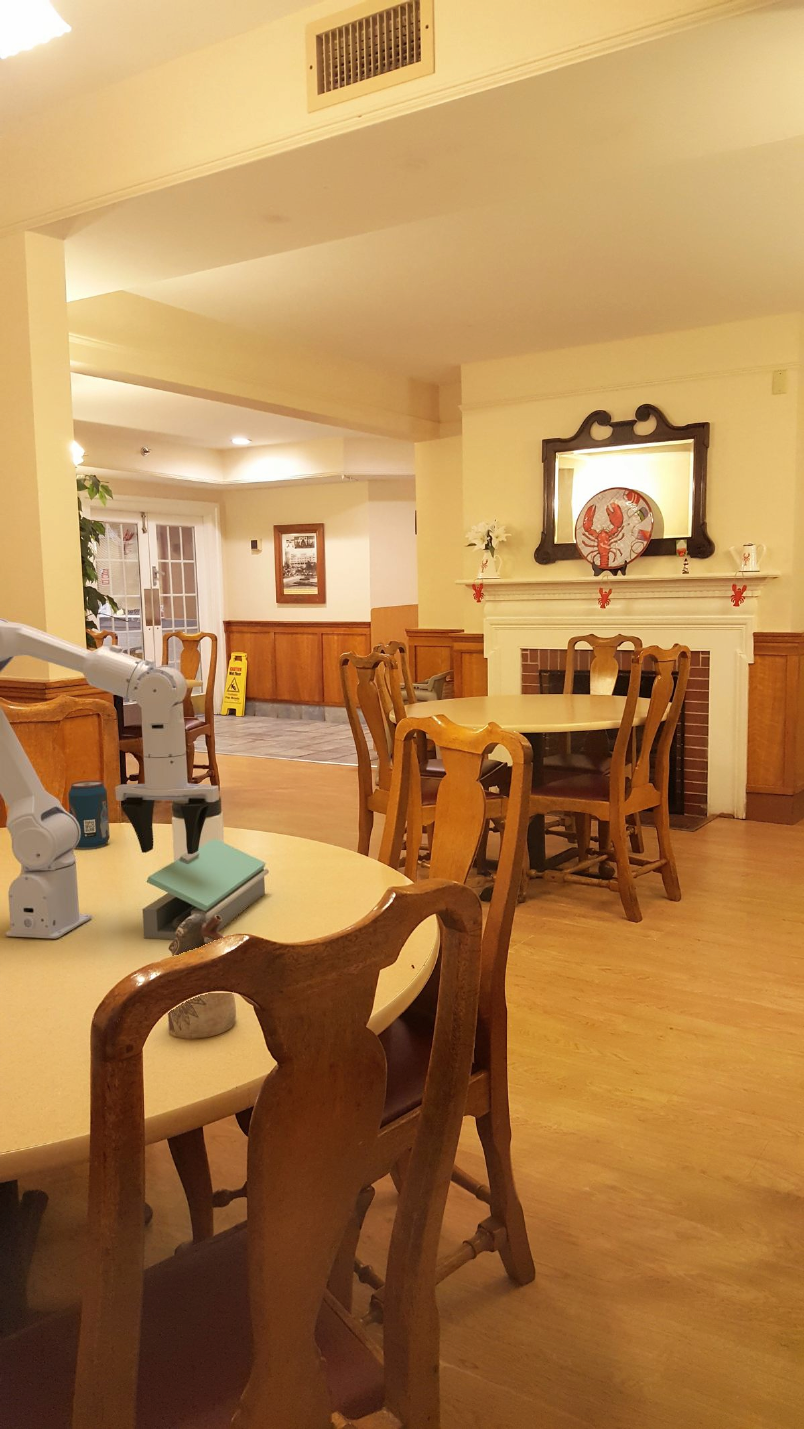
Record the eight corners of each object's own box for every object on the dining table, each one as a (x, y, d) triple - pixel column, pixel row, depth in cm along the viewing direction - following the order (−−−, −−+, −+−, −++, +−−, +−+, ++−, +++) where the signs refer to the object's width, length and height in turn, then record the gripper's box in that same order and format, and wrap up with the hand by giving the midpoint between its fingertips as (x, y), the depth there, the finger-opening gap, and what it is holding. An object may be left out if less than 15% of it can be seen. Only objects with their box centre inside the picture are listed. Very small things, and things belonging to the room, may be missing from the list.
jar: (180, 862, 174) (177, 794, 172) (227, 860, 174) (224, 793, 173) (170, 876, 165) (166, 804, 163) (220, 874, 165) (216, 803, 164)
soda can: (71, 843, 190) (67, 781, 189) (109, 839, 192) (105, 778, 191) (71, 851, 184) (67, 787, 183) (110, 847, 186) (106, 784, 185)
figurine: (188, 1008, 110) (183, 902, 108) (247, 1014, 108) (242, 906, 106) (154, 1035, 103) (148, 923, 102) (217, 1042, 101) (211, 927, 100)
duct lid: (205, 911, 131) (208, 901, 131) (146, 882, 133) (149, 872, 132) (264, 867, 153) (267, 859, 152) (212, 842, 154) (215, 834, 154)
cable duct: (212, 941, 132) (210, 912, 131) (144, 938, 134) (142, 909, 133) (269, 893, 153) (268, 868, 153) (210, 891, 155) (209, 866, 155)
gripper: (225, 750, 139) (230, 846, 140) (130, 750, 142) (136, 843, 144) (204, 758, 132) (209, 858, 134) (105, 757, 135) (111, 855, 137)
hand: (170, 851), depth 138 cm, fingers open, 6 cm apart
